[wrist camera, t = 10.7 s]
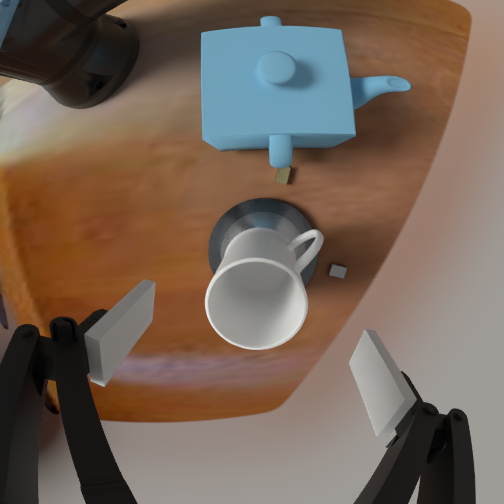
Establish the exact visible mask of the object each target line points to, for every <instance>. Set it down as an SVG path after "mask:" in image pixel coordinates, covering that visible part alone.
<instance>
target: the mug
mask: <svg viewBox="0 0 504 504" xmlns="http://www.w3.org/2000/svg"><path fill="white" fill-rule="evenodd" d="M314 237H316V238H315V240H314V242H313V243H312V245H311V246H310V247H309V249H308V250H307V251H306V252H305V253H304V254H303V255H302V256H301V257H300V258H299V259H298V260H297V261H296V255H295V251H294V248H296V247H297V246H298V245H300V244H301V243H303V242H305V241H307V240H309V239H311V238H314ZM323 240H324V238H323V235H322V233H321V232H320V231H319V230H310V231H307V232H305V233H303V234H301V235H299V236H298V237H296V238H295V239H293V240H292V241H290V242H289V241H288V240H287V239H286V238H285V237H284V236H283V235H282V234H280V233H279V232H277V231H275V230H272V229H268V228H251V229H248V230H245V231H243V232H241V233H240V234H238V235H237V236H236V237H234V238H233V240H232V241H231V242H230V243H229V245H228V247H227V249H226V251H225V255H224V258H223V260H222V262H221V264H220V266H219V268H218V269H217V271H216V273H215V275H214V277H213V279H212V280H211V282H210V284H209V287H208V289H207V293H206V298H205V307H206V313H207V316H208V319H209V321H210V323H211V325H212V327H213V328H214V329H215V331H216V332H217V333H218V334H219V335H220V336H221V337H222V338H224V339H225V340H226V341H228V342H230V343H232V344H234V345H236V346H238V347H242V348H246V349H252V350H262V349H269V348H273V347H276V346H279V345H281V344H283V343H285V342H286V341H288V340H289V339H291V338H292V337H293V336H294V335H295V334H296V333H297V332H298V331H299V329H300V328H301V326H302V325H303V323H304V320H305V318H306V314H307V309H308V299H307V294H306V290H305V287H304V284H303V281H302V278H301V275H300V272H301V271H302V270H303V269H304V268H305V267H306V266H307V265H308V264H309V263H310V262H311V260H312V259H313V258H314V257H315V256H316V254H317V253H318V251H319V250H320V248H321V246H322V244H323Z"/></svg>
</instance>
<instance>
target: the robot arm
mask: <svg viewBox="0 0 504 504" xmlns="http://www.w3.org/2000/svg"><path fill="white" fill-rule="evenodd" d="M126 1H127V0H0V75H1V76H6V77H10V78H14V79H18V80H23V81H27V82H30V83H35V84H38V85H41V86H42V87H43V88H44V89H45V90H46V91H47V92H48V93H49V94H50V95H51V96H52V97H53V98H54V99H55V100H56V101H57V102H58V103H60V104H62V105H64V106H67V107H71V108H74V109H84V108H89V107H92V106H94V105H96V104H98V103H100V102H102V101H103V100H105V99H106V98H107V97H109V96H110V95H111V94H112V93H113V92H114V91H115V90H116V89H117V88H118V87H119V86H120V85H121V84H122V83H123V81H124V80H125V79H126V77H127V76H128V74H129V73H130V71H131V69H132V67H133V65H134V63H135V61H136V58H137V54H138V50H139V39H138V35H137V33H136V31H135V29H134V28H133V27H132V26H131V25H130V24H129V23H128V22H126V21H125V20H123V19H121V18H119V17H115V16H112V15H107V14H105V13H106V12H108V11H110V10H112V9H113V8H115V7H117V6H118V5H120V4H122V3H124V2H126ZM155 284H156V282H153V281H149V280H146V279H144V280H143V281H141V282H140V283H139V284H138V285H137V286H136V287H135V288H134V289H132V290H131V291H130V292H129V293H128V294H127V295H126V296H125V297H124V298H122V299H121V300H120V301H119V302H118V303H117V304H116V305H115V306H114V307H113V308H112V309H110V310H109V311H107V310H104V309H100V310H97V311H95V312H93V313H92V314H91V315H90V316H89V317H87V318H86V319H85V320H84V321H83V322H82V323H81V324H80V325H77V323H76V321H75V320H74V319H72V318H69V317H57V318H55V319H53V320H52V321H51V322H50V325H49V326H50V333H51V338H49V337H44V336H40V333H39V330H38V328H37V327H36V326H35V325H31V324H24V325H21V326H19V327H18V328H17V329H16V330H15V332H14V334H13V336H12V339H11V341H10V343H9V345H8V348H7V350H6V352H5V354H4V357H3V359H2V362H1V364H0V504H39V503H38V501H39V500H38V455H39V439H40V430H41V421H42V414H43V406H44V400H45V394H46V389H47V384H48V380H52V381H56V387H57V393H58V400H59V405H60V411H61V416H62V420H63V425H64V429H65V434H66V438H67V442H68V446H69V449H70V453H71V456H72V460H73V463H74V466H75V469H76V472H77V475H78V478H79V481H80V484H81V487H80V488H81V492H82V495H83V497H84V500H85V502H86V504H137V502H136V500H135V498H134V496H133V494H132V492H131V490H130V489H129V487H128V485H127V483H126V481H125V480H124V478H123V476H122V474H121V472H120V471H119V468H118V466H117V463H116V462H115V459H114V456H113V454H112V452H111V449H110V447H109V444H108V442H107V439H106V436H105V434H104V431H103V428H102V425H101V422H100V419H99V416H98V413H97V410H96V407H95V404H94V400H93V397H92V393H91V390H90V386H89V382H88V378H87V374H88V373H90V379H91V381H92V382H94V383H97V384H99V385H101V386H103V387H105V386H106V384H107V383H108V381H109V380H110V378H111V377H112V376H113V374H114V373H115V371H116V370H117V369H118V367H119V366H120V364H121V363H122V362H123V360H124V359H125V357H126V356H127V355H128V353H129V352H130V351H131V349H132V348H133V346H134V345H135V344H136V342H137V341H138V340H139V338H140V337H141V336H142V334H143V333H144V332H145V330H146V329H147V328H148V326H149V325H150V324H151V322H152V319H153V306H154V294H155ZM349 365H350V367H351V370H352V372H353V375H354V377H355V380H356V383H357V385H358V388H359V391H360V393H361V396H362V398H363V401H364V404H365V407H366V409H367V412H368V415H369V417H370V420H371V423H372V426H373V429H374V431H375V434H376V437H388V436H389V435H390V434H391V433H392V432H393V430H394V429H395V430H396V433H397V435H396V436H395V437H394V438H393V439H392V440H391V442H390V443H389V444H388V445H387V446H386V448H388V449H387V451H386V453H385V455H384V457H383V458H382V460H381V462H380V464H379V466H378V467H377V469H376V470H375V472H374V474H373V475H372V477H371V479H370V480H369V482H368V483H367V485H366V486H365V488H364V489H363V491H362V492H361V494H360V495H359V497H358V498H357V499H356V501H355V502H354V504H408V503H409V501H410V498H411V496H412V494H413V491H414V489H415V487H416V485H417V482H418V480H419V477H420V485H419V493H418V499H417V504H476V495H475V493H476V492H475V472H474V461H473V451H472V443H471V436H470V431H469V425H468V419H467V416H466V415H465V413H464V412H463V411H462V410H459V409H451V411H450V412H449V413H448V414H447V415H444V414H439V412H438V410H437V408H436V407H435V406H433V405H432V404H430V403H426V402H423V400H422V398H421V397H420V395H419V394H418V392H417V390H416V389H415V387H414V385H413V384H412V382H411V380H410V378H409V377H408V376H407V375H406V374H405V373H404V372H403V371H400V370H399V368H398V367H397V365H396V363H395V362H394V360H393V358H392V357H391V355H390V353H389V352H388V351H387V349H386V347H385V346H384V344H383V342H382V341H381V339H380V338H379V336H378V334H377V333H376V331H375V330H369V329H365V330H364V332H363V334H362V336H361V338H360V341H359V343H358V345H357V347H356V349H355V351H354V353H353V355H352V358H351V360H350V362H349ZM420 475H421V476H420Z"/></svg>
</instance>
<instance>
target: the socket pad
mask: <svg viewBox="0 0 504 504" xmlns="http://www.w3.org/2000/svg"><path fill="white" fill-rule="evenodd" d="M289 173H290V168H289V167H286V168H278V169H277V173H276V177H275V181H274V182H278V183H282V184H286V185H287V181H288V177H289ZM251 228H268V229H272V230H275V231H277V232H279V233H280V234H282V235H283V236H284V237H285V238H286V239H287V240H288V241H289V242H290V241H292V240H293V239H295V238H296V237H298V236H299V235H301V234H303V233H305V232H307V231H310V230H313V229H312V227H311V225H310V224H309V222H308V221H307V219H306V218H305V217H304V216H303V215H302V214H301V213H300V212H299V211H298V210H297V209H295V208H294V207H292V206H291V205H289V204H287V203H285V202H282V201H279V200H275V199H270V198H257V199H251V200H247V201H244V202H242V203H240V204H238V205H236V206H234V207H233V208H231V209H230V210H229V211H227V212H226V213H225V214H224V215H223V216H222V217H221V218H220V220H219V221H218V222H217V224H216V226H215V227H214V229H213V232H212V234H211V237H210V241H209V248H208V252H209V262H210V266H211V269H212V271H213V274H214V275H215V273H216V271H217V269H218V268H219V266H220V264H221V262H222V260H223V258H224V255H225V251H226V249H227V247H228V245H229V243H230V242H231V241H232V240H233V238H234V237H236V236H237V235H238V234H240V233H241V232H243V231H245V230H248V229H251ZM315 238H316V237H314V238H311V239H309V240H307V241H305V242H303V243H301V244H300V245H298V246H297V247H296V248H294V251H295V255H296V261H297V260H298V259H299V258H300V257H301V256H302V255H303V254H304V253H305V252H306V251H307V250H308V249H309V247H310V246H311V245H312V243H313V242H314V240H315ZM317 259H318V253H317V254H316V256H315V257H314V258H313V259H312V260H311V262H310V263H309V264H308V265H307V266H306V267H305V268H304V269H303V270H302V271H301V272H300V275H301V278H302V281H303V284H304V287H305V286H306V284H307V283H308V282H309V280H310V279H311V277H312V275H313V273H314V270H315V268H316V264H317ZM346 270H347V267H346V266H342V265H338V264H334V263H331V265H330V268H329V271H328V274H329V275H330V276H334V277H339V278H343V279H344V276H345V273H346Z"/></svg>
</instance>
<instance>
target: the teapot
mask: <svg viewBox="0 0 504 504" xmlns="http://www.w3.org/2000/svg"><path fill="white" fill-rule="evenodd" d="M260 22H261V26H257V27H242V28H231V29H222V30H215V31H208V32H203V33H201V100H202V133H203V140H204V141H206V142H207V143H209V144H210V145H212V146H214V147H215V148H217V149H218V150H220V151H234V150H250V149H269V157H270V165H271V166H272V167H275V168H286V167H289V166H290V165H291V164H292V153H293V148H332V147H334V146H336V145H338V144H340V143H343V142H345V141H347V140H349V139H351V138H353V137H355V136H356V128H355V116H354V110H355V109H357V108H359V107H361V106H363V105H364V104H366V103H367V102H368V101H370V100H371V99H373V98H375V97H376V96H378V95H381V94H383V93H388V92H401V91H408V90H410V89H411V84H410V83H409V82H408V81H407V80H405V79H403V78H400V77H396V76H374V77H362V78H350V75H349V68H348V62H347V56H346V50H345V45H344V39H343V34H342V30H338V29H330V28H320V27H305V26H282V23H281V19H280V18H279V17H276V16H265V17H262V18H261V20H260Z"/></svg>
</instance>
